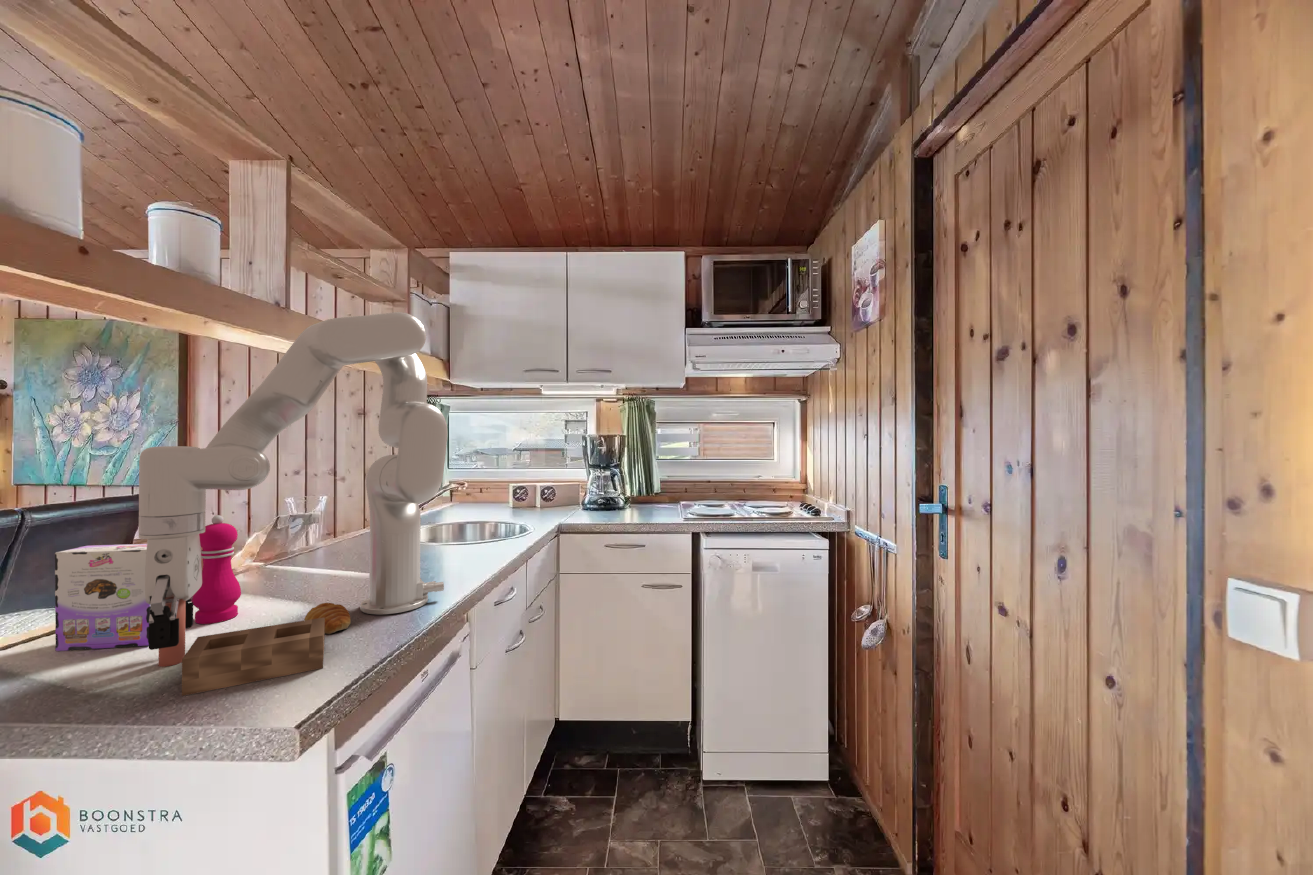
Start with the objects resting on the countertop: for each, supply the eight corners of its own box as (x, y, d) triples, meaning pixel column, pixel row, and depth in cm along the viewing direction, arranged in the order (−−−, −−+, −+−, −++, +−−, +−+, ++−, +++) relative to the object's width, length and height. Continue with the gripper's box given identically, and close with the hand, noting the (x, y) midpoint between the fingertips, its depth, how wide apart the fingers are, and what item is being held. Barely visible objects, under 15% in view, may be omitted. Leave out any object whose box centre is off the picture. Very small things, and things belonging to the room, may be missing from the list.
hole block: (324, 647, 84) (324, 617, 84) (322, 668, 77) (323, 635, 77) (197, 669, 76) (197, 636, 76) (181, 696, 68) (182, 659, 68)
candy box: (176, 633, 90) (177, 541, 90) (148, 647, 84) (149, 548, 84) (86, 637, 87) (87, 543, 88) (51, 652, 82) (52, 551, 82)
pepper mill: (250, 612, 100) (251, 512, 100) (215, 626, 93) (216, 518, 93) (217, 611, 101) (218, 512, 101) (180, 624, 94) (181, 517, 94)
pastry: (360, 628, 93) (360, 607, 93) (319, 640, 88) (319, 618, 88) (339, 617, 99) (339, 597, 99) (299, 627, 94) (299, 607, 93)
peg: (187, 656, 80) (187, 594, 80) (182, 663, 78) (182, 599, 78) (161, 660, 79) (162, 597, 79) (155, 668, 76) (156, 602, 76)
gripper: (191, 532, 73) (190, 652, 73) (216, 515, 88) (215, 616, 88) (118, 537, 69) (117, 664, 69) (157, 519, 84) (156, 624, 84)
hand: (172, 636), depth 78 cm, fingers open, 7 cm apart
